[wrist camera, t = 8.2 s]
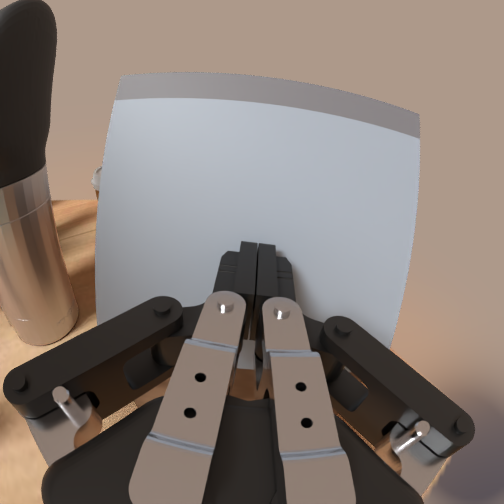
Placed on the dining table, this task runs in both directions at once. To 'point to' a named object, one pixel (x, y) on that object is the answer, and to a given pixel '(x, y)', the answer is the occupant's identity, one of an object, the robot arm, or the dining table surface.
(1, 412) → the dining table surface
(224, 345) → the robot arm
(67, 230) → the dining table surface
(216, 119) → the lid
